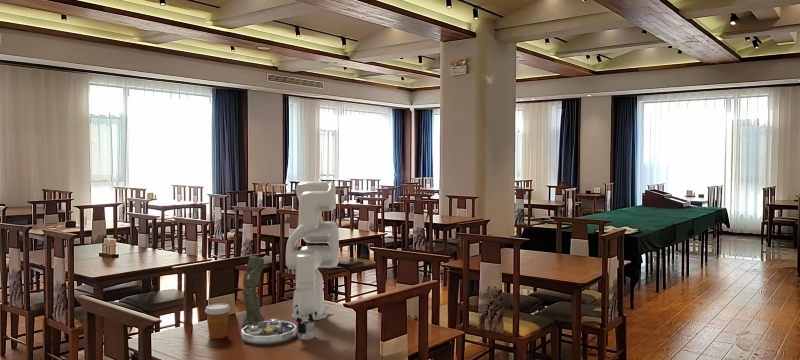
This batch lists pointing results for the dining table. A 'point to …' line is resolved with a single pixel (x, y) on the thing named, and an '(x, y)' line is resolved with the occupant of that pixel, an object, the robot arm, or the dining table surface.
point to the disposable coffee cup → (217, 319)
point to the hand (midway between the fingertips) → (306, 330)
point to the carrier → (268, 332)
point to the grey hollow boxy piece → (307, 331)
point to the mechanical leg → (252, 290)
